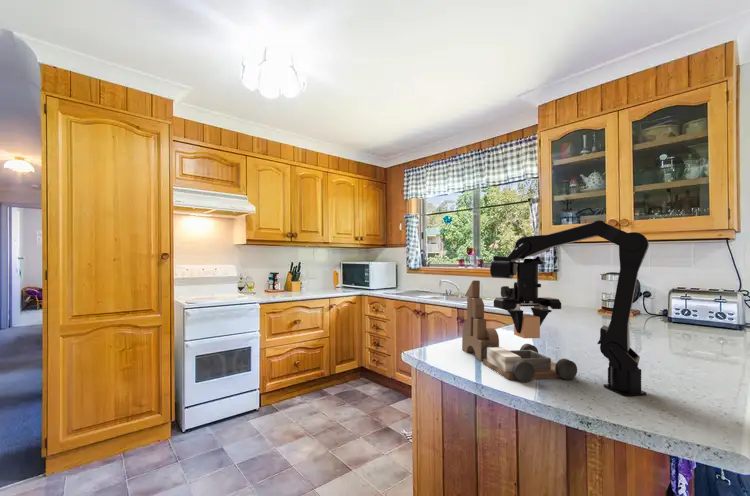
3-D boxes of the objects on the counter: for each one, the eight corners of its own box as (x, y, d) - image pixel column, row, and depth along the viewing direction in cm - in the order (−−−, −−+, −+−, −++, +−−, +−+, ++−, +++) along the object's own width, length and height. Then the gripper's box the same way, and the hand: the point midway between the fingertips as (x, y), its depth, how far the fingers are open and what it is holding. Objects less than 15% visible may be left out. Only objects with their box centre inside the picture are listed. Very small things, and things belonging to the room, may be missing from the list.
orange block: (539, 338, 100) (540, 317, 100) (524, 338, 99) (524, 317, 99) (529, 334, 105) (529, 314, 105) (514, 334, 104) (514, 314, 104)
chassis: (580, 379, 95) (580, 359, 95) (513, 382, 91) (513, 361, 91) (536, 359, 113) (536, 342, 113) (479, 361, 109) (479, 344, 109)
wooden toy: (500, 361, 110) (501, 282, 111) (480, 361, 109) (481, 282, 110) (477, 348, 126) (478, 278, 126) (459, 348, 124) (460, 278, 125)
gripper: (538, 278, 112) (537, 326, 112) (484, 277, 109) (484, 327, 108) (562, 280, 101) (562, 334, 101) (504, 280, 98) (503, 335, 97)
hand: (526, 332), depth 102 cm, fingers closed on orange block, 5 cm apart
